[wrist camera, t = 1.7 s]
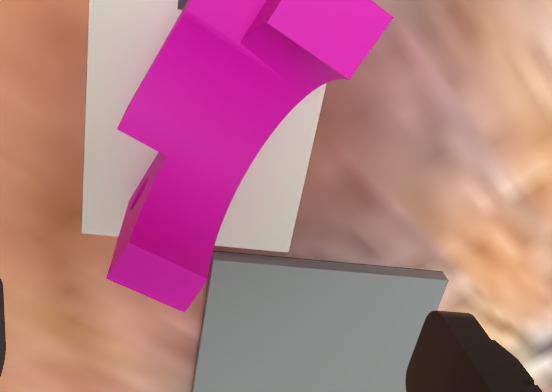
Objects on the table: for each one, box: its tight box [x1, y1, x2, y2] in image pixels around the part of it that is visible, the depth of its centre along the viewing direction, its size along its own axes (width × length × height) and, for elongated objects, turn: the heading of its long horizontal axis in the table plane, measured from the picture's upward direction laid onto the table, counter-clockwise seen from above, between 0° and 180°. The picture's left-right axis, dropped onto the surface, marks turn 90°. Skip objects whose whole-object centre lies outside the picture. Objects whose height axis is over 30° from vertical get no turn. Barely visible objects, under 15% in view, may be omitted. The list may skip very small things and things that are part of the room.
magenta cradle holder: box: [107, 0, 394, 312], centre depth 23 cm, size 15×6×8 cm, turn 146°
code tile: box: [82, 0, 327, 252], centre depth 27 cm, size 12×18×1 cm, turn 170°
